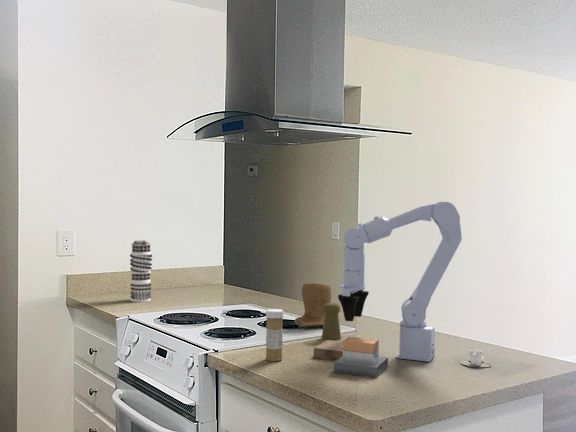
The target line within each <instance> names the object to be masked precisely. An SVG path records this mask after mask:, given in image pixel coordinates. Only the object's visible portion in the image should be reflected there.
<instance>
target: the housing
mask: <svg viewBox="0 0 576 432" xmlns="http://www.w3.org/2000/svg"><path fill="white" fill-rule="evenodd" d="M342 342H343V360H344V361H353V362H361V363H370V364H374V363H375V362H376V361H377V360H378V356H379V353H380V352H379V350H380V348H379V347H380V345H379V344H380V343H379V342H380V341H379V339H375V338H374V339H373V338H365V337H364V338H363V337H355V336H348V337H346V338H345V339H343V340H342Z"/></svg>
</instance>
